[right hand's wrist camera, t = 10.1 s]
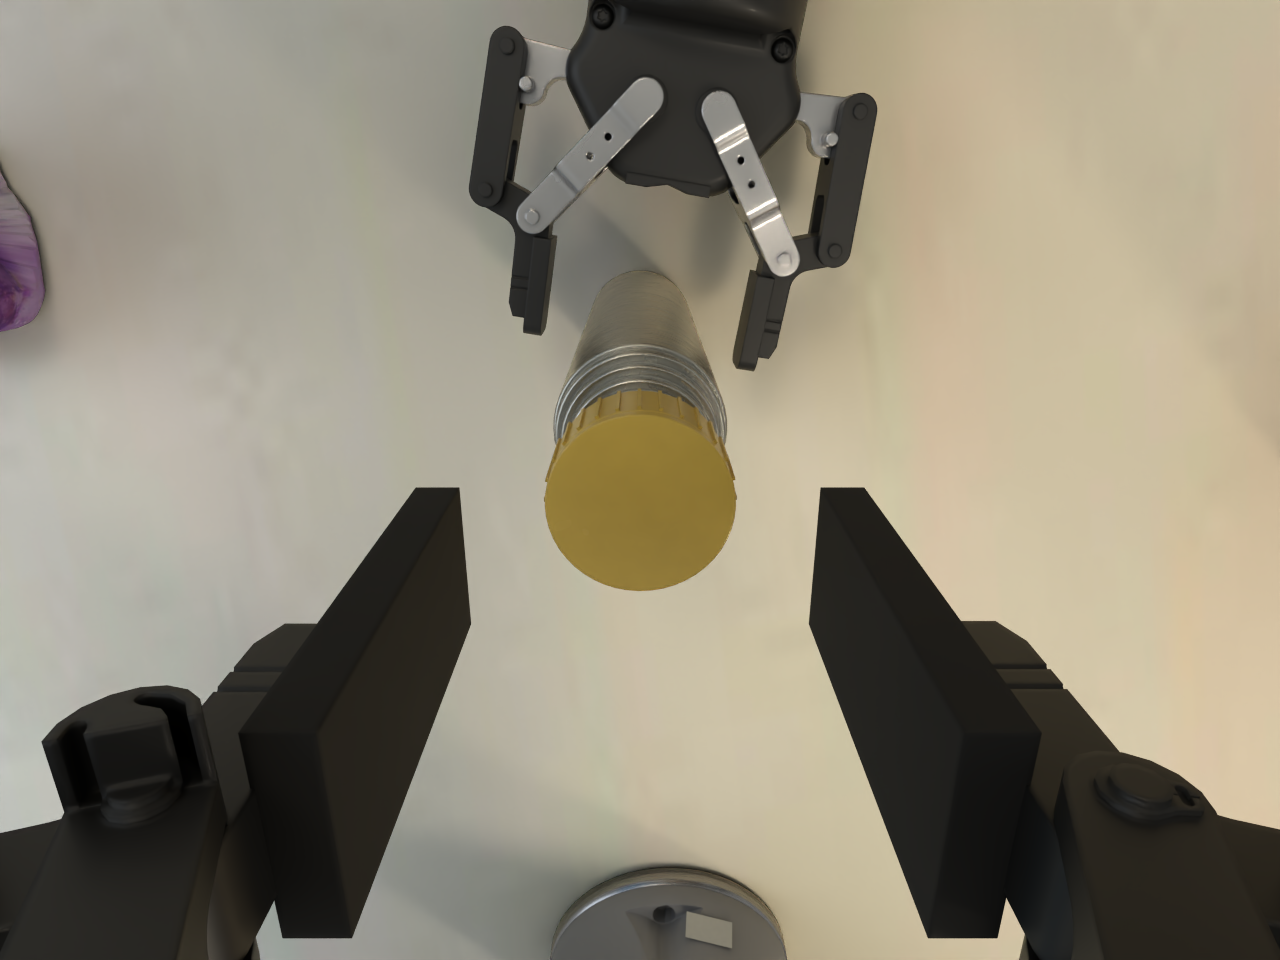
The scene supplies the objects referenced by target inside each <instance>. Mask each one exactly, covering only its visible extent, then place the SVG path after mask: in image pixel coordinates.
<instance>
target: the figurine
mask: <svg viewBox="0 0 1280 960" xmlns="http://www.w3.org/2000/svg"><path fill="white" fill-rule="evenodd" d="M44 295H45V288H44V284H43V277H42V269H41V262H40V256H39V250H38V244H37V240H36V237H35V233H34V230H33V228H32V224H31V217H30V216H29V215H28V213H27V212H26V211H25V209H24V208H23V206H22V205H21V203H20V202H19V200H18V199H17V198H16V197H15V195H14V194H13V193H12V191H11V190H10V189H9V188H8V187H7V184H6V181H5V180H4V178H3V176H2V175H1V171H0V332H2V331H6V330H10V329H14V328H18V327H21V326H23V325H25V324H27V323H29V322H31V321H32V320H33V319H34V318H35V317H36V315H37V314H38V312H39V310H40V308H41V305H42V303H43V300H44Z"/></svg>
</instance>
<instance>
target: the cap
mask: <svg viewBox="0 0 1280 960" xmlns="http://www.w3.org/2000/svg"><path fill="white" fill-rule="evenodd" d="M733 480H735V476H734V473H733V470H732V467H731V464H730V460H729V457H728V454H727V452H726V449H725V446H724V443H723V440H722V437H721V436H720V437H718V435H717V433H716V432H715V430H714V427H713V423H712V422H711V420H709V421H707V420H706V419H705V417H704V416H703V415H701V414H700V413H699V409H698V408H697V407H695V408H693V407H691V406H690V405H688V404H687V403H685V402H683V401H682V399H681V397H679V396H678V397H677V398H675V397H672V396H669V395H666V394H663V393H662V391H660V390H658V392H653V391H641V388H638V391H628V392H623V393H621V391H617V394H614V395H611V396H608V397H606V398H604V399H602V398H601V397H600V398H598V401H597V402H595V403H594V404H592V405H591V406H589V407H588V408H586V409H585V408H582V409H581V412H580V414H579V415H578V416H577V417H576V418H575V419H574V421H573V422H572V423H571V422H569V423H568V424H567V427H566V430H565V433H564V435H563V437H562V439H561V438H559V439H558V441H557V444H556V448H555V451H554V454H553V457H552V460H551V463H550V467H549V470H548V473H547V476H546V480H545V482H547V487H546V493H545V497H544V502H545V511H546V518H547V522H548V526H549V529H550V532H551V534H552V537H553V539H554V541H555V543H556V544H557V546H558V548H559V549H560V551H561V552H562V553H563V555H564V556H565V557H566V558H567V559H568V560H569V561H570V562H571V563H572V564H573V565H574V566H575V567H576V568H577V569H578V570H580V571H581V572H582V573H584V574H585V575H587V576H589V577H590V578H592V579H594V580H596V581H598V582H600V583H602V584H605V585H608V586H611V587H614V588H619V589H624V590H633V591H648V590H656V589H662V588H666V587H670V586H673V585H676V584H678V583H681V582H683V581H685V580H687V579H689V578H691V577H692V576H694V575H696V574H697V573H698V572H700V571H701V570H702V569H704V568H705V567H706V566H707V565H708V564H709V563H710V562H711V561H712V560H713V559H714V558H715V557H716V556H717V554H718V553H719V552H720V551H721V549H722V547H723V546H724V544H725V542H726V541H727V539H728V536H729V534H730V532H731V529H732V525H733V522H734V518H735V510H736V500H737V496H736V493H735V488H734V483H733Z"/></svg>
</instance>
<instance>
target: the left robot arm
mask: <svg viewBox="0 0 1280 960" xmlns="http://www.w3.org/2000/svg"><path fill="white" fill-rule="evenodd" d="M807 1H808V0H589V2H588V10H587V17H586V22H585V25H584V28H583V31H582V33H581V35H580V37H579V39H578V41H577V42H576V44H575V45H574V46H573V48H572V49H571V50H569V49H565V48H561V47H558V46H554V45H550V44H546V43H542V42H538V41H534V40H530V39H526V38H524V37H523V36H522V35H521V34H520V33H519V32H518V31H517V30H516V29H515V28H513V27H510V26H502V27H499V28H498V29H496V30H495V31H494V32H493V34H492V36H491V38H490V43H489V50H488V57H487V64H486V71H485V78H484V85H483V92H482V99H481V106H480V114H479V121H478V128H477V135H476V142H475V149H474V156H473V163H472V170H471V177H470V184H469V193H470V196H471V198H472V199H473V201H474V202H475V203H476V204H478V205H479V206H482V207H486V208H488V209H490V210H491V211H493V212H495V213H497V214H498V215H500V216H502V217H504V218H505V219H506V220H508V221H509V222H510V224H511V225H512V227H513V229H514V232H515V249H514V258H513V268H512V278H511V288H510V297H509V304H510V308H511V312H512V315H513V316H517V317H523V318H524V325H523V332H524V333H528V334H534V335H540V336H541V335H542V334H543V332H544V330H545V328H546V323H547V316H548V308H549V299H550V291H551V283H552V275H553V267H554V259H555V250H556V242H557V236H555V235H552V230H553V223H554V222H555V221H556V220H557V219H558V218H559V217H560V216H561V215H562V214H563V213H564V212H565V211H566V210H567V209H568V208H569V207H570V206H571V205H572V204H573V203H574V202H575V201H576V199H577V198H578V197H579V196H580V195H581V194H582V193H584V192H585V191H586V190H587V189H588V188H589V187H590V186H591V185H592V184H593V183H594V182H595V181H596V180H597V179H598V177H599V176H600V175H601V174H602V173H603V172H604V171H605V170H606V169H607V168H608V169H609V170H610V171H611V172H612V173H613V174H614V175H615V176H616V177H617V178H619V179H620V180H622V181H624V182H625V183H626V184H632V185H638V186H643V187H650V186H660V185H669V186H671V187H673V188H675V189H677V190H679V191H681V192H684V193H686V194H689V195H695V196H700V197H706V198H709V196H715V195H719V194H721V193H723V192H725V191H727V193H728V195H729V197H730V200H731V202H732V204H733V206H734V208H735V210H736V212H737V214H738V216H739V218H740V220H741V221H742V223H743V225H744V227H745V229H746V232H747V234H748V236H749V238H750V240H751V242H752V245H753V247H754V249H755V251H756V253H757V255H758V258H759V259H758V264H757V269H756V271H755V270H750V273H749V278H748V283H747V288H746V292H745V297H744V302H743V307H742V312H741V316H740V321H739V326H738V331H737V336H736V341H735V345H734V350H733V363H734V365H735V367H736V369H743V370H749V371H754V370H755V368H756V364H757V360H758V357H761V358H767V359H769V358H770V356H771V355H772V353H773V352H774V350H775V349H776V347H777V343H778V338H779V333H780V329H781V325H782V320H783V316H784V312H785V307H786V303H787V298H788V294H789V290H790V286H791V283H792V281H793V280H794V279H795V278H796V276H798V275H799V274H800V273H802V272H804V271H808V270H813V269H819V268H824V267H831V268H836V267H839V266H841V265H843V264H844V263H845V262H846V261H847V260H848V258H849V256H850V253H851V248H852V242H853V237H854V232H855V226H856V221H857V216H858V211H859V205H860V200H861V195H862V189H863V184H864V179H865V174H866V168H867V163H868V158H869V152H870V147H871V142H872V137H873V131H874V126H875V121H876V115H877V105H876V102H875V100H874V99H873V98H872V97H871V96H870V95H868V94H866V93H858V94H853V95H850V96H847V97H838V96H829V95H820V94H812V93H803V92H800V89H799V86H798V82H797V77H796V55H797V49H798V44H799V40H800V35H801V30H802V25H803V20H804V16H805V11H806V6H807ZM559 80H566V81H567V84H568V87H569V89H570V91H571V93H572V96H573V98H574V100H575V102H576V104H577V106H578V108H579V110H580V112H581V114H582V116H583V118H584V121H585V123H586V125H587V127H588V129H589V131H588V132H587V133H586V134H585V135H584V136H583V137H582V139H581V140H580V141H579V142H578V143H577V144H576V145H575V146H574V147H573V148H572V149H571V150H570V151H569V152H568V153H567V154H566V155H565V156H564V158H563V159H562V160H561V161H560V162H559V163H558V164H557V165H556V167H555V168H554V169H553V171H552V172H551V173H550V174H549V175H548V176H547V177H546V178H545V179H544V180H543V181H542V182H541V183H540V184H539V186H538V187H537V188H536V189H535V190H534V191H533V192H530V191H529V190H527V189H525V188H523V187H522V186H520V185H518V184H517V183H515V182H514V176H515V170H516V164H517V157H518V151H519V145H520V139H521V132H522V126H523V120H524V114H525V108H526V105H527V106H537V105H539V104H541V103H542V102H543V101H544V99H545V98H546V95H547V92H548V90H549V88H550V86H551V85H552V84H553V83H555V82H556V81H559ZM794 122H797V123H799V124H800V125H801V126H802V127H803V128H804V130H805V132H806V136H807V148H808V150H809V152H810V153H811V154H812V155H813V156H814V157H817V158H821V160H820V166H819V172H818V178H817V184H816V189H815V195H814V201H813V207H812V213H811V219H810V225H809V231H808V234H805V235H799V236H794V237H792V236H791V234H790V232H789V229H788V227H787V225H786V223H785V220H784V218H783V216H782V213H781V211H780V206H779V203H778V200H777V198H776V195H775V193H774V191H773V189H772V186H771V184H770V182H769V179H768V177H767V175H766V173H765V170H764V168H763V166H762V164H761V161H760V158H761V157H762V156H763V155H764V154H765V153H766V152H767V151H768V150H769V149H770V148H771V147H772V146H773V145H774V144H775V143H776V142H777V141H778V140H779V139H780V138H781V137H782V136H783V135H784V134H785V133H786V132H787V131H788V130H789V129H790V128H791V126H792V125H793V124H794ZM592 156H593V158H592Z"/></svg>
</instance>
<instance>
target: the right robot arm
mask: <svg viewBox="0 0 1280 960" xmlns="http://www.w3.org/2000/svg"><path fill="white" fill-rule="evenodd" d="M470 625H471V618H470V606H469V594H468V583H467V571H466V560H465V548H464V536H463V525H462V513H461V502H460V490H459V488H415V489H414V491H413V492H412V494H411V495H410V496H409V498H408V499H407V500H406V502H405V503H404V505H403V506H402V507H401V509H400V510H399V511H398V513H397V514H396V516H395V517H394V518H393V520H392V521H391V523H390V524H389V525H388V527H387V528H386V529H385V531H384V532H383V534H382V535H381V536H380V538H379V539H378V540H377V542H376V543H375V545H374V546H373V547H372V549H371V550H370V552H369V553H368V554H367V556H366V557H365V558H364V560H363V561H362V563H361V564H360V565H359V567H358V568H357V569H356V571H355V572H354V574H353V575H352V576H351V578H350V579H349V580H348V582H347V583H346V585H345V586H344V587H343V589H342V590H341V592H340V593H339V594H338V596H337V597H336V598H335V600H334V601H333V603H332V604H331V605H330V607H329V608H328V609H327V611H326V612H325V614H324V615H323V616H322V618H321V619H320V620H319V622H318V623H317V624H284V625H282V626H281V627H279V628H277V629H276V630H274V631H273V632H271V633H270V634H268V635H267V636H265V637H263V638H262V639H260V640H259V641H257V642H256V643H254V644H253V645H252V646H251V647H250V649H249V650H248V651H247V652H246V654H245V655H244V656H243V657H242V658H241V660H240V661H239V662H238V663H237V664H236V666H235V667H234V672H230V673H229V674H228V675H227V676H226V678H225V679H224V680H223V681H222V682H221V684H220V685H219V686H218V691H217V692H213V693H212V694H211V696H210V697H209V698H208V699H207V700H206V702H205V703H204V704H203V705H201V701H200V699H199V698H198V697H197V696H196V695H194V694H193V693H192V692H191V691H189V690H188V689H183V688H178V687H173V686H168V685H166V686H152V687H140V688H136V689H132V690H128V691H124V692H120V693H116V694H112V695H109V696H107V697H104V698H102V699H100V700H98V701H95V702H93V703H91V704H88V705H86V706H84V707H81V708H80V709H78V710H77V711H75V712H74V713H72V714H71V715H69V716H68V717H66V718H65V719H63V720H62V721H60V722H59V723H57V724H56V726H55V727H54V728H53V729H52V730H51V731H50V732H49V734H48V735H47V736H46V737H45V738H44V739H43V740H42V745H43V748H44V751H45V754H46V757H47V760H48V763H49V766H50V770H51V773H52V776H53V779H54V782H55V785H56V788H57V791H58V794H59V797H60V800H61V803H62V806H63V810H64V814H63V817H62V819H60V820H56V821H53V822H49V823H45V824H40V825H35V826H31V827H26V828H22V829H17V830H13V831H8V832H4V833H0V960H260V955H259V949H258V945H257V941H256V935H257V933H258V931H259V929H260V927H261V926H262V924H263V922H264V920H265V918H266V916H267V914H268V912H269V910H270V908H271V906H272V904H273V902H274V901H275V906H276V910H277V915H278V919H279V924H280V929H281V933H282V938H352V937H353V934H354V931H355V929H356V926H357V924H358V921H359V918H360V916H361V913H362V910H363V908H364V905H365V902H366V900H367V897H368V895H369V892H370V889H371V887H372V884H373V881H374V879H375V876H376V873H377V871H378V868H379V865H380V863H381V860H382V858H383V855H384V852H385V850H386V847H387V844H388V842H389V839H390V836H391V834H392V831H393V829H394V826H395V823H396V821H397V818H398V815H399V813H400V810H401V807H402V805H403V802H404V800H405V797H406V794H407V792H408V789H409V786H410V784H411V781H412V778H413V776H414V773H415V771H416V768H417V765H418V763H419V760H420V757H421V755H422V752H423V749H424V747H425V744H426V741H427V739H428V736H429V734H430V731H431V728H432V726H433V723H434V720H435V718H436V715H437V712H438V710H439V707H440V705H441V702H442V699H443V697H444V694H445V691H446V689H447V686H448V683H449V681H450V678H451V676H452V673H453V670H454V668H455V665H456V662H457V660H458V657H459V654H460V652H461V649H462V647H463V644H464V641H465V639H466V636H467V633H468V631H469V628H470ZM809 625H810V628H811V631H812V633H813V636H814V639H815V641H816V644H817V647H818V649H819V652H820V654H821V657H822V660H823V662H824V665H825V668H826V670H827V673H828V676H829V678H830V681H831V683H832V686H833V689H834V691H835V694H836V697H837V699H838V702H839V705H840V707H841V710H842V712H843V715H844V718H845V720H846V723H847V726H848V728H849V731H850V734H851V736H852V739H853V741H854V744H855V747H856V749H857V752H858V755H859V757H860V760H861V763H862V765H863V768H864V771H865V773H866V776H867V778H868V781H869V784H870V786H871V789H872V792H873V794H874V797H875V800H876V802H877V805H878V807H879V810H880V813H881V815H882V818H883V821H884V823H885V826H886V829H887V831H888V834H889V836H890V839H891V842H892V844H893V847H894V850H895V852H896V855H897V858H898V860H899V863H900V865H901V868H902V871H903V873H904V876H905V879H906V881H907V884H908V887H909V889H910V892H911V895H912V897H913V900H914V902H915V905H916V908H917V910H918V913H919V916H920V918H921V921H922V924H923V926H924V929H925V931H926V934H927V937H928V938H998V933H999V929H1000V924H1001V919H1002V915H1003V910H1004V906H1005V901H1006V898H1007V900H1008V902H1009V904H1010V906H1011V908H1012V909H1013V911H1014V913H1015V915H1016V917H1017V919H1018V921H1019V923H1020V925H1021V927H1022V929H1023V931H1024V933H1025V936H1024V941H1023V945H1022V949H1021V954H1020V958H1019V960H1280V830H1279V829H1275V828H1270V827H1266V826H1261V825H1256V824H1252V823H1247V822H1243V821H1238V820H1234V819H1230V818H1226V817H1223V816H1219V815H1217V813H1216V811H1215V810H1214V808H1213V807H1212V806H1211V804H1210V803H1209V802H1208V800H1207V799H1206V798H1205V796H1204V795H1203V793H1202V792H1201V791H1199V790H1198V789H1197V788H1195V787H1194V786H1193V785H1192V784H1190V783H1189V782H1188V781H1186V780H1185V779H1184V778H1183V777H1181V776H1180V775H1179V774H1177V773H1175V772H1173V771H1171V770H1169V769H1166V768H1164V767H1162V766H1160V765H1158V764H1156V763H1154V762H1152V761H1150V760H1146V759H1143V758H1140V757H1136V756H1133V755H1129V754H1126V753H1122V752H1119V751H1118V749H1117V748H1116V747H1115V746H1114V745H1113V743H1112V742H1111V741H1110V740H1109V739H1108V737H1107V736H1106V735H1105V734H1104V733H1103V731H1102V730H1101V729H1100V728H1099V727H1098V726H1097V724H1096V723H1095V722H1094V721H1093V720H1092V718H1091V717H1090V716H1089V715H1088V714H1087V712H1086V711H1085V710H1084V709H1083V708H1082V706H1081V705H1080V704H1079V703H1078V702H1077V700H1076V699H1075V698H1074V697H1073V696H1072V694H1071V693H1070V692H1069V691H1068V690H1067V689H1063V684H1062V682H1061V681H1060V680H1059V679H1058V678H1057V676H1056V675H1055V674H1054V673H1053V672H1052V670H1051V669H1047V667H1046V663H1045V662H1044V661H1043V660H1042V659H1041V657H1040V656H1039V655H1038V654H1037V653H1036V651H1035V650H1034V649H1033V648H1032V647H1031V645H1030V644H1029V643H1028V642H1027V641H1026V640H1024V639H1023V638H1021V637H1020V636H1018V635H1017V634H1015V633H1013V632H1012V631H1010V630H1009V629H1007V628H1006V627H1004V626H1002V625H1001V624H999V623H998V622H996V621H961V620H960V619H959V618H958V616H957V615H956V614H955V612H954V611H953V609H952V608H951V607H950V605H949V604H948V603H947V601H946V600H945V598H944V597H943V596H942V594H941V593H940V592H939V590H938V589H937V587H936V586H935V585H934V583H933V582H932V580H931V579H930V578H929V576H928V575H927V574H926V572H925V571H924V569H923V568H922V567H921V565H920V564H919V563H918V561H917V560H916V558H915V557H914V556H913V554H912V553H911V552H910V550H909V549H908V547H907V546H906V545H905V543H904V542H903V540H902V539H901V538H900V536H899V535H898V534H897V532H896V531H895V529H894V528H893V527H892V525H891V524H890V523H889V521H888V520H887V518H886V517H885V516H884V514H883V513H882V511H881V510H880V509H879V507H878V506H877V505H876V503H875V502H874V500H873V499H872V498H871V496H870V495H869V494H868V492H867V491H866V489H865V488H821V490H820V502H819V513H818V525H817V536H816V548H815V560H814V571H813V583H812V594H811V606H810V618H809ZM550 960H787V956H786V951H785V946H784V940H783V935H782V932H781V929H780V927H779V924H778V922H777V920H776V919H775V917H774V915H773V914H772V912H771V911H770V910H769V909H768V907H767V906H766V905H765V904H764V903H763V902H762V901H761V900H760V899H759V898H758V897H757V896H755V895H754V894H753V893H751V892H750V891H749V890H747V889H746V888H744V887H742V886H741V885H739V884H737V883H735V882H733V881H731V880H729V879H726V878H724V877H721V876H718V875H715V874H712V873H708V872H704V871H699V870H693V869H686V868H654V869H646V870H640V871H635V872H631V873H627V874H624V875H621V876H618V877H615V878H612V879H610V880H608V881H605V882H603V883H602V884H600V885H598V886H596V887H594V888H593V889H591V890H590V891H588V892H587V893H585V894H584V895H583V896H581V897H580V898H579V899H578V900H577V901H576V902H575V903H574V904H573V905H572V906H571V907H570V908H569V909H568V911H567V912H566V913H565V914H564V916H563V917H562V919H561V921H560V923H559V925H558V927H557V929H556V932H555V934H554V938H553V943H552V950H551V959H550Z"/></svg>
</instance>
